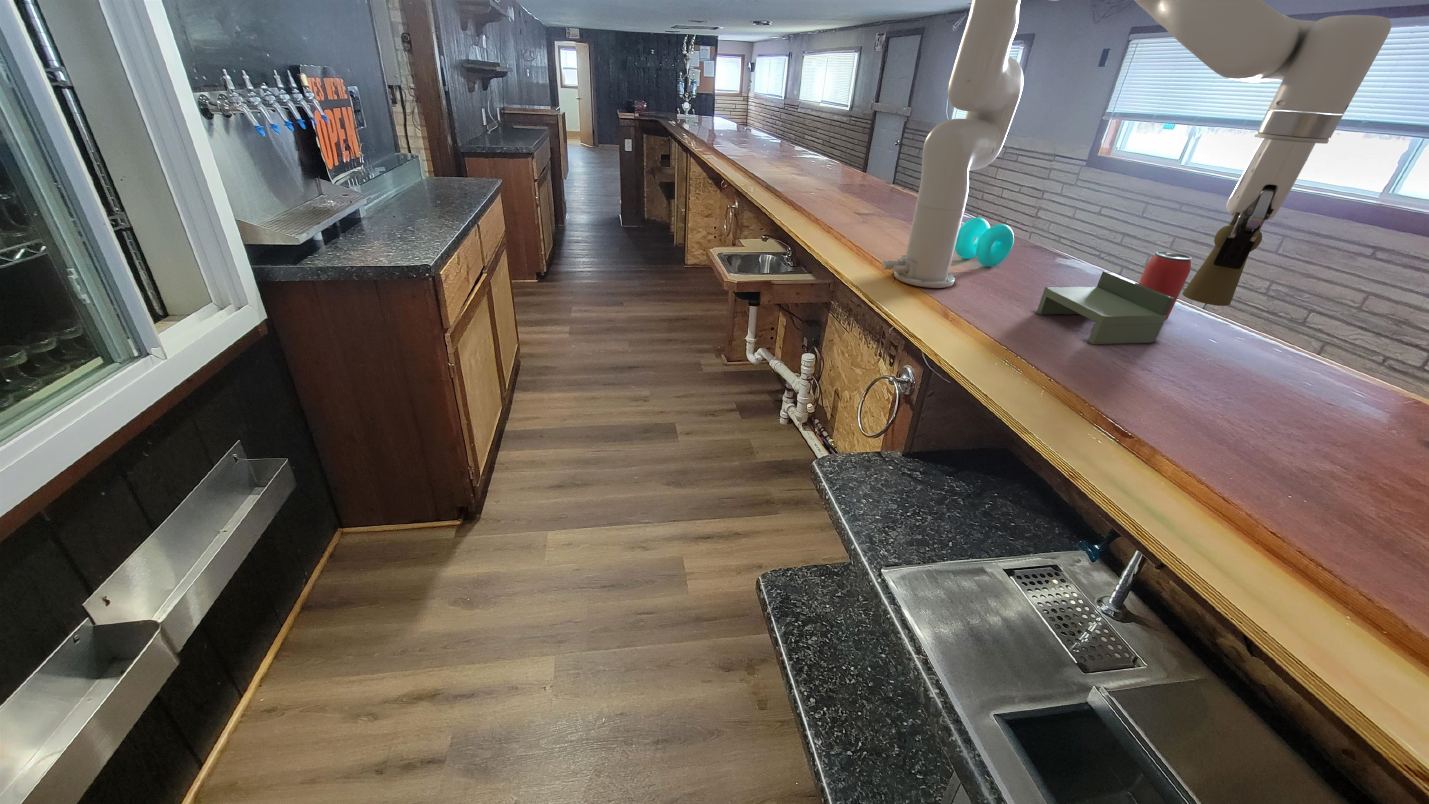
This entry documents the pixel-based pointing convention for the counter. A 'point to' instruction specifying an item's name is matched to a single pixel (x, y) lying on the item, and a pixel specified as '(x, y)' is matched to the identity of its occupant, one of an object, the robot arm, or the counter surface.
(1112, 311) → the shelf
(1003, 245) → the turquoise spool
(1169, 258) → the beer can
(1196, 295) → the cork
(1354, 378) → the counter surface
